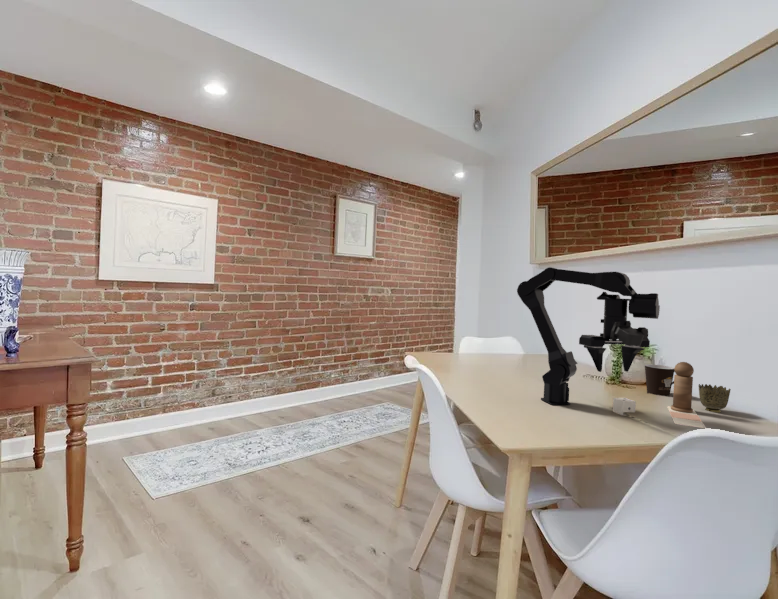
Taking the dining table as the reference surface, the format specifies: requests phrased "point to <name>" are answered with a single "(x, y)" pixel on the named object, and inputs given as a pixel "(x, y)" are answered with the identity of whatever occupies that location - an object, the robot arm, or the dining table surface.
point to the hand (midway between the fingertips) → (612, 371)
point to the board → (686, 416)
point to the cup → (713, 397)
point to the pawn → (683, 388)
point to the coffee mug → (659, 379)
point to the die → (623, 405)
